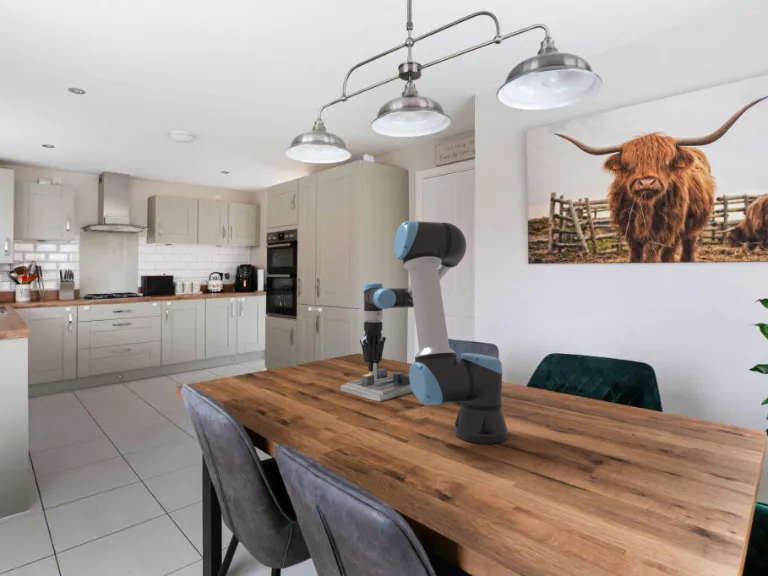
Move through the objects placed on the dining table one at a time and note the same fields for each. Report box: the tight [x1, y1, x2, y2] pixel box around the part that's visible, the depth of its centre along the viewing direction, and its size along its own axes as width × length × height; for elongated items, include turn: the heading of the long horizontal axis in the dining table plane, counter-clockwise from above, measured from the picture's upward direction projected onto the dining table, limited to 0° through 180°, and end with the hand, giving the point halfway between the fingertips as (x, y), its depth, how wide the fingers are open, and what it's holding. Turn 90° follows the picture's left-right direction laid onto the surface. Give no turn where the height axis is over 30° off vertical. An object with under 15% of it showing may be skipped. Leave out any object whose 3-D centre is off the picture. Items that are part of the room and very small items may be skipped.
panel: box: [340, 367, 413, 402], centre depth 175 cm, size 26×22×6 cm
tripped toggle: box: [361, 373, 374, 386], centre depth 172 cm, size 4×3×4 cm
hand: (373, 379), depth 174 cm, fingers closed
